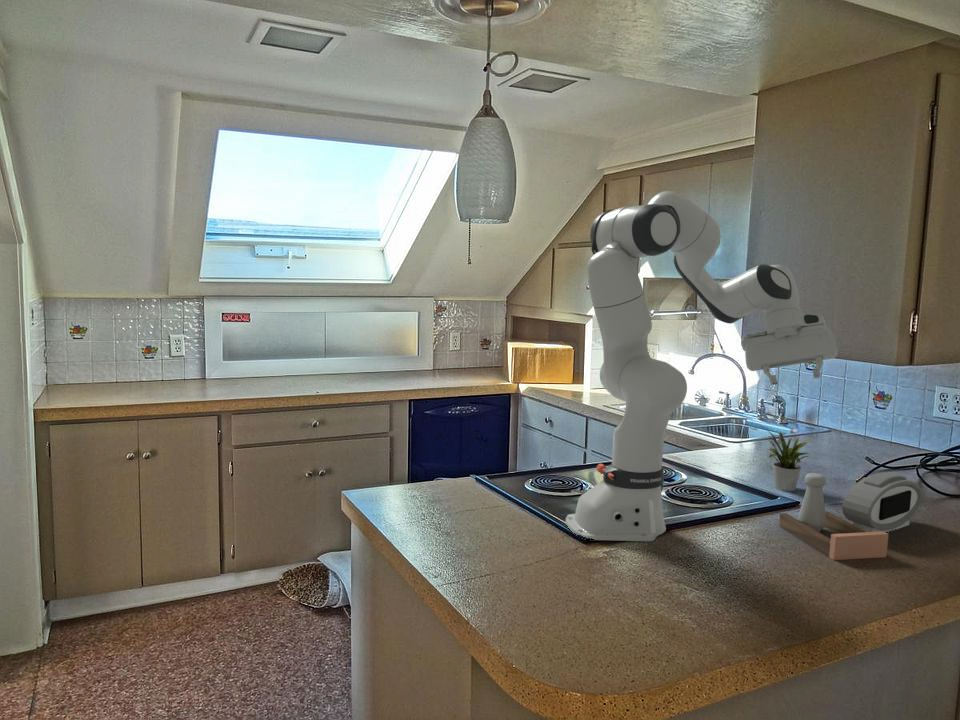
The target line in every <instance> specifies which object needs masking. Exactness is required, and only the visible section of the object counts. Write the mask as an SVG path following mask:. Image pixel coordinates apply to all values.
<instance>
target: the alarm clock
mask: <svg viewBox="0 0 960 720" xmlns="http://www.w3.org/2000/svg"><path fill="white" fill-rule="evenodd" d="M922 500H923V490H922V488H921V486H920V485H919V484H918V483H917V482H915V481H912V480H907V478H906V476H902V475H898V474H895V473H890V472H877V473H874V474H872V475H869V476H867V477H865V478H862V479H861V480H859V481H858V482H856V483H855V484H854V485H853V486H851V488H850V489H849V490H848V492H847V493H846V494H845V496H844V498H843V501H842V505H841V507H842V511H841V512H842V514H843V516H844V517H845V518H846V519H847V520H848V521H850V522H851V524H852V525H854V526H856V527H858V528H860V529H862V530H864V531H866V532H882V531H884V532H888V533H890V532H889V531H891V532H893V531H896V530H900V529H902V528H904V527H907V526H909V525H910V519H912V518H913V517H914V516H915V514H916V513H917V511H918V510H919V508H920V506H921V504H922V502H923V501H922ZM895 529H896V530H895ZM892 530H893V531H892Z"/></svg>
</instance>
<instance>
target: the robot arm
mask: <svg viewBox="0 0 960 720" xmlns="http://www.w3.org/2000/svg"><path fill="white" fill-rule="evenodd" d="M589 236H590V244H591V248H590V249H591V252H592V254H593V255H592V256H591V257H590V258H589V260H588V261H587V264H586V265H587V266H586V271H587V272H586V273H587V274H586V275H587V282H588V289H589V295H590V298H591V299H590V300H591V302H592V307H593V309H594V313H595V317H596V320H597V323H598V324H597V325H598V327H599V332H600V335H601V341H602V347H603V348H602V350H603V363H602V365H601V366H600V370H599V380H600V383H601V386H602V387H603V388H604V389H605V390H606V391H607V392H608V393H609V394H610V395H612V396H613V397H614V398H616V399H618V400H621V401H623V402H625V411H624V414H623V418H622V419H621V421H620V424H618V425H617V426H616V427H615V429H614V431H613V433H612V434H613V436H612V437H613V438H612V452H611V453H612V455H611V456H612V458H611V459H612V460H611V463H610V464H609V465H608V466H605V465H604V464H603V463H599V464H597V465H596V468H595V469H596V471H597V472H598V473H599V474H601V475H603V479H602V480H601V481H600V482H598V483H597V484H595V485H594V486H593V487H591V488H590V489H589V490H587V491H586V492H584V493H582V494H581V495H580V496H579V498H578V500H577V502H576V503H577V505H576V509H575V513H569V514H567V516H566V517H565V521H564V522H565V526H566V525H567V526H568V527H567V526H566V527H567V529H568V528H569V529H570V530H571V531H572V532H573V533H572V532H571V531H570V530H569V529H568V530H569V531H570V532H571V533H572V534H574V533H575V534H577V535H581V536H583V537H586V538H590V539H591V538H592V539H594V540H593V541H620V542H623V541H625V542H654V541H655V540H656V538H657V537H658V536H661V535H662V534H664V533H665V532H666V530H667V527H666V523H665V518H664V513H663V502H662V501H663V500H662V492H663V488H664V482H665V481H664V479H665V478H664V474H665V472H664V467H663V457H664V454H663V453H664V442H665V436H666V430H667V428H668V424H669V421H670V419H671V416H672V414H673V413H674V411H675V410H676V409H678V408H679V407H680V406H681V405H682V403H683V402H684V400H685V399H686V395H687V391H688V384H687V383H688V382H687V380H686V377H685V376H684V374H683V373H682V371H680V370H679V369H677V368H676V367H675V366H673V365H671V364H670V363H668V362H666V361H664V360H663V361H662V360H659V359H656V358H652V357H651V355H650V354H649V350H648V349H649V348H648V336H649V334H650V332H652V328H653V322H652V319H651V315H650V310H649V307H648V303H647V299H646V297H645V292H644V287H643V285H642V283H641V280H640V276H639V275H638V264H639V259H640V258H645V257H648V256H649V257H655V256H659V255H662V254H664V253H666V252H668V251H669V250H670V251H671V252H672V253H673V254H674V257H673V263H674V267H675V269H676V271H677V273H678V274H679V276H680V277H681V278H682V279H683V280H684V281H685V283H686V284H687V285H688V286H689V287H690V289H692V290H693V292H694V293H695V294H696V295H697V296H698V297H699V299H701V300H702V301H703V303H704V304H705V305H706V307H707V309H708V311H709V312H710V313H711V315H712V316H713V317H714V318H715V319H716V320H718V321H720V322H723V323H726V324H730V325H731V324H734V323H736V322H737V321H739V320H741V319H743V318H745V316H748V315H750V314H752V313H754V312H755V313H756V312H757V311H759V310H761V309H763V312H764V314H763V315H764V317H763V322H764V327H765V331H760V332H756V333H748V334H747V335H746V336H744V337H743V338H742V340H741V347H742V350H743V351H744V353H745V354H744V355H745V356H744V357H745V365H746V368H747V369H748V370H749V371H750V372H755V371H756V372H757V371H763V374H764V375H765V376H766V377H767V378H768V379H769V383H770V386H772V385H777V384H778V381H777V375H776V374H773V375H772V374H771V371H770V369H775V368H781V367H786V366H787V367H789V366H794V365H800V364H805V363H812V362H815V363H816V367H815V368H813V369H812V374H813V375H812V376H813V378H814V379H819V378H821V377H822V376H821V369H822V368H823V365H824V361H825V360H831V359H835V358H837V356H838V354H839V349H838V345H837V341H836V339H835V336H834V334H833V331H832V330H831V328H830V327H829V326H828V325H826V324H827V323H826V320H825V319H826V318H825V317H824V316H823V315H822V314H816V313H815V314H814V313H804V312H803V311H802V308H801V307H800V301H801V300H800V299H801V298H800V293H799V290H798V287H797V282H796V281H795V277H794V275H793V273H792V270H790V268H789V267H788V266H785V265H782V264H770V265H769V264H764V263H761V264H759V265H757V266H754V267H752V268H750V269H748V270H746V271H744V272H742V273H740V274H738V275H735V276H734V277H733V278H731V279H729V280H726V281H721V282H717V281H715V280H714V278H713V277H712V276H711V275H710V273H708V271H707V270H706V269H705V266H707V264H708V263H709V262H711V260H712V259H713V258H714V256H715V255H716V253H717V251H718V249H719V246H720V242H721V230H720V226H719V224H718V222H716V220H715V219H714V218H713V217H712V216H711V215H710V214H709V213H707V212H706V211H705V210H704V209H703V208H702V207H700V206H699V205H697V204H696V203H694V202H693V201H691V200H690V199H688V198H687V197H685V196H683V195H680V194H679V193H676V192H675V191H672V190H670V191H669V190H664V191H661V192H659V193H657V194H656V195H654V196H653V197H651V199H650V200H649V202H648V203H647V204H646V205H626V206H622V207H619V208H616V209H609V210H607V211H604V212H602V213H601V214H599V215H598V216H597V217H596V218H595V219H594V220H593V222H592V224H591V228H590V235H589ZM575 534H574V535H575ZM577 535H576V536H577Z"/></svg>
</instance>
